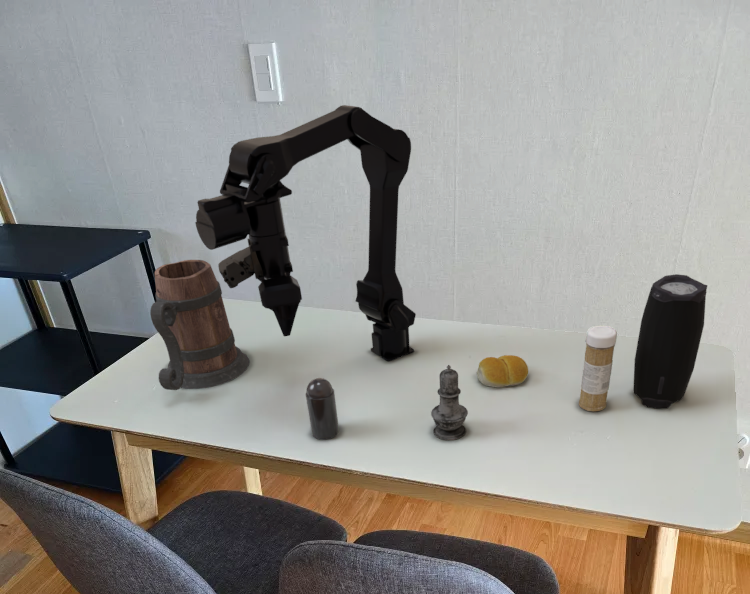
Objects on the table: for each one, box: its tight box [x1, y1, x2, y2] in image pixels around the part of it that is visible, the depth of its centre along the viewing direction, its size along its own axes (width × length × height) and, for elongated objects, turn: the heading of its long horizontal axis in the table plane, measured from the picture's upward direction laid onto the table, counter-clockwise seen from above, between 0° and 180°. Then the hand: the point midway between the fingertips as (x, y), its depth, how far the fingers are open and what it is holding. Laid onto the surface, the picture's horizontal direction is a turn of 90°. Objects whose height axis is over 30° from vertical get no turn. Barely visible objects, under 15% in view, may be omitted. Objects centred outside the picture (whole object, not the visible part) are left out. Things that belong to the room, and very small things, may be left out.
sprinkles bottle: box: [578, 325, 618, 412], centre depth 112 cm, size 5×5×13 cm
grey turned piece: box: [430, 364, 469, 441], centre depth 110 cm, size 6×6×12 cm
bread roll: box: [476, 354, 529, 388], centre depth 125 cm, size 8×9×4 cm
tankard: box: [149, 259, 251, 391], centre depth 130 cm, size 24×17×20 cm
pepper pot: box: [305, 377, 340, 441], centre depth 113 cm, size 5×5×10 cm
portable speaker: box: [632, 273, 708, 410], centre depth 111 cm, size 9×9×20 cm
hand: (283, 324), depth 118 cm, fingers open, 9 cm apart
